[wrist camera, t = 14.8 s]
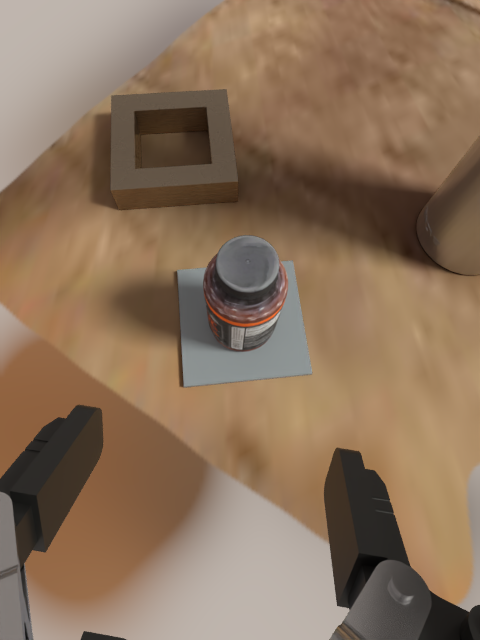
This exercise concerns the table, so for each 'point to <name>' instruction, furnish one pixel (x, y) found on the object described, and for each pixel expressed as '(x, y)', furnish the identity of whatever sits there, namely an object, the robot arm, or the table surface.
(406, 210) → the table surface
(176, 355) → the table surface
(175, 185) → the socket block
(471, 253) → the robot arm
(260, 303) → the supplement bottle
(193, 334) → the slate mat
